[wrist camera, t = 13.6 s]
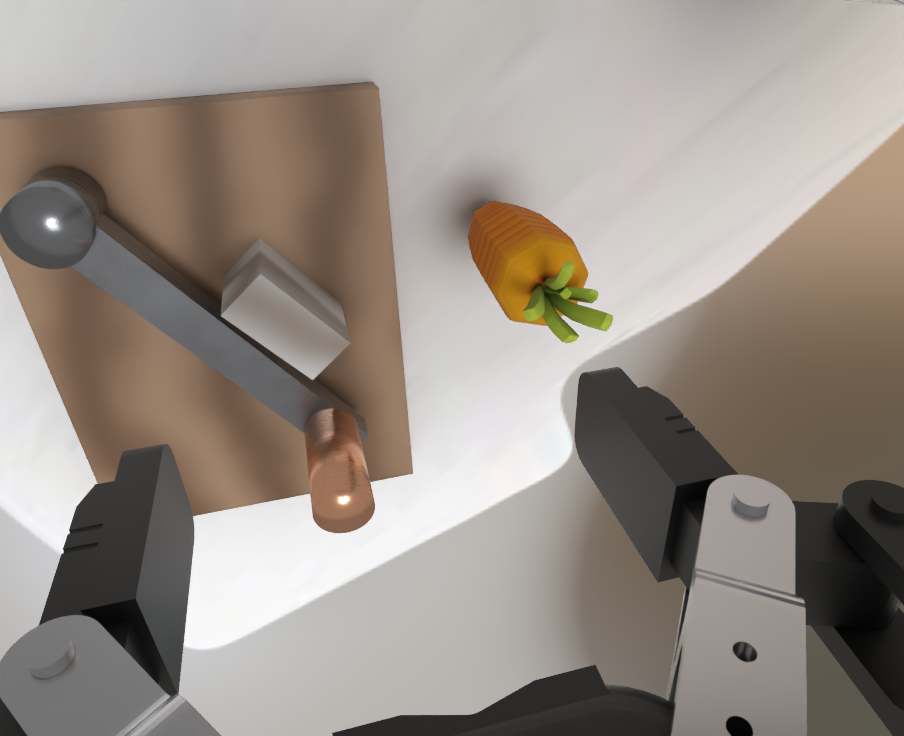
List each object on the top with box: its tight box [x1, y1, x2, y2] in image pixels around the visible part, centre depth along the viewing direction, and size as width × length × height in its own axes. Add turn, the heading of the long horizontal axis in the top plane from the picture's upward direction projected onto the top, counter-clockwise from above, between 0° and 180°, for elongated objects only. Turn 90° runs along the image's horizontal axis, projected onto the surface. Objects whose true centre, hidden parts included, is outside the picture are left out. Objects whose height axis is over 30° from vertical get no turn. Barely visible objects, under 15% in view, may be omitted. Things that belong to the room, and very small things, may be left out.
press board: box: [0, 82, 413, 516], centre depth 38 cm, size 20×26×7 cm
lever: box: [0, 167, 375, 533], centre depth 34 cm, size 4×22×10 cm, turn 40°
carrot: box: [468, 201, 613, 343], centre depth 35 cm, size 5×5×15 cm
